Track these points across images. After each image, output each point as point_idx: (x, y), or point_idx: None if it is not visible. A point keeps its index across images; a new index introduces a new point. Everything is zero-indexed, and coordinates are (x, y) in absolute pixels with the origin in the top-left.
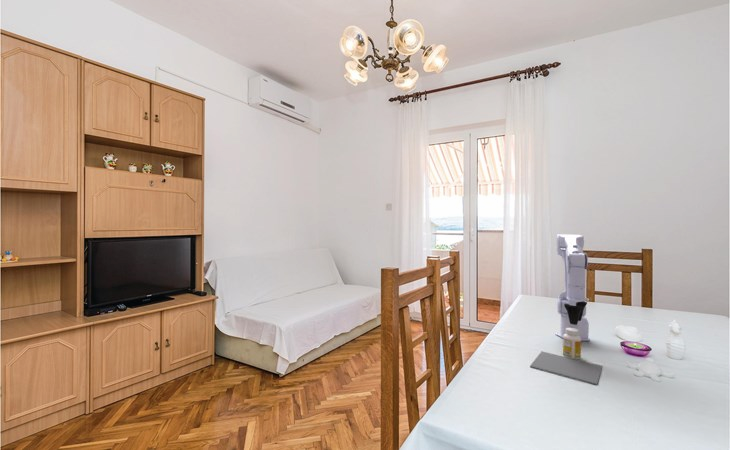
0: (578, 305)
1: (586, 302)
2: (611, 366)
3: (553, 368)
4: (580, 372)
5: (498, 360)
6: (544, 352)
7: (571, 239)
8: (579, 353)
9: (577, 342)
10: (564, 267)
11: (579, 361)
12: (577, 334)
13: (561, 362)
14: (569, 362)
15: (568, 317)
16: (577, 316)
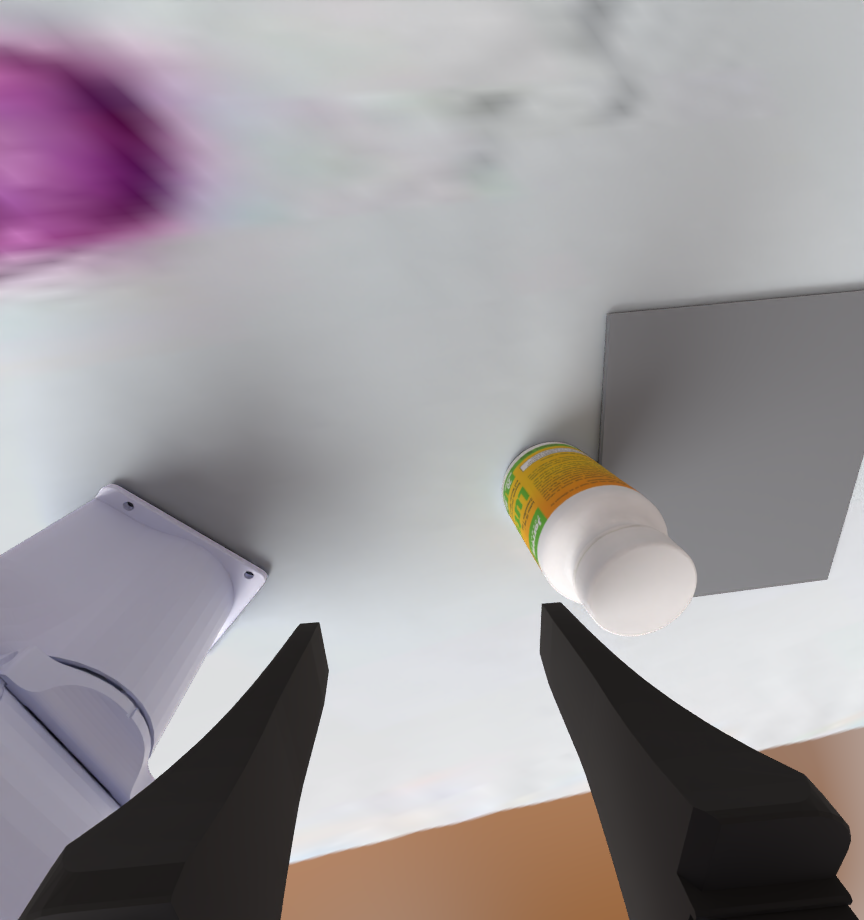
0: (252, 874)
1: (99, 911)
2: (556, 267)
3: (807, 499)
4: (793, 388)
5: (810, 679)
6: None
7: None
8: (583, 454)
9: (641, 494)
10: None
11: (623, 431)
12: (655, 530)
13: (700, 495)
14: (674, 466)
15: (148, 730)
16: (634, 680)
